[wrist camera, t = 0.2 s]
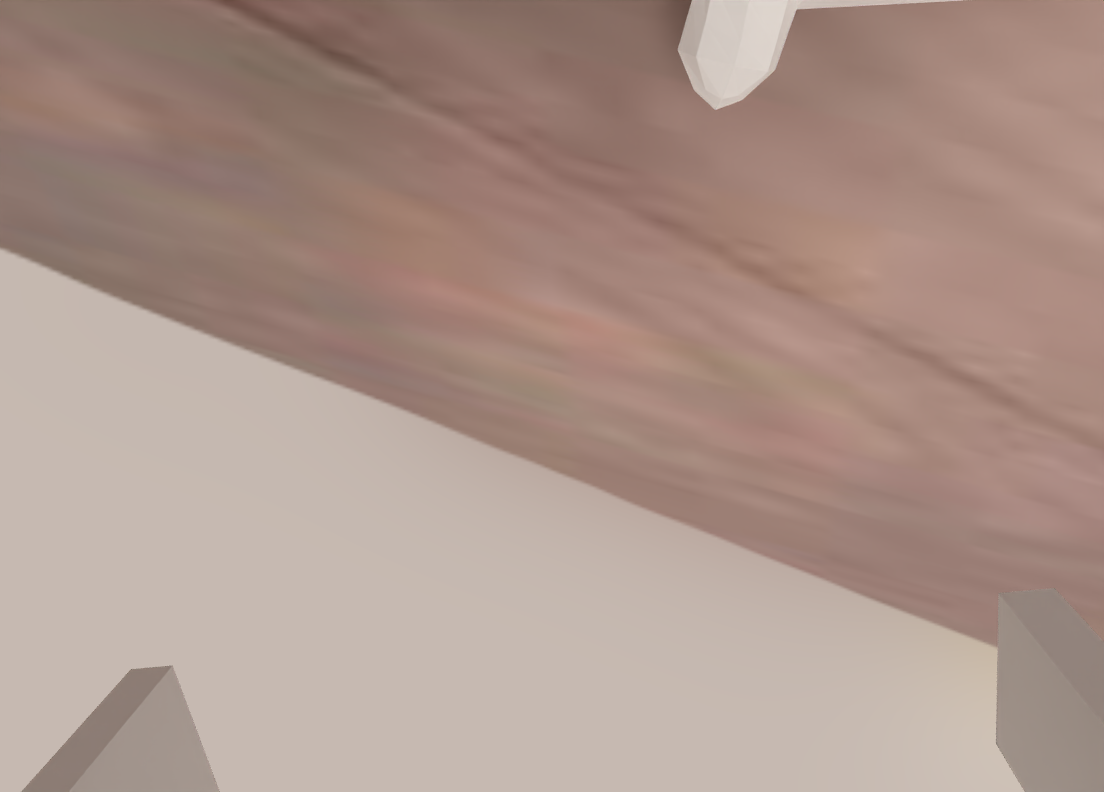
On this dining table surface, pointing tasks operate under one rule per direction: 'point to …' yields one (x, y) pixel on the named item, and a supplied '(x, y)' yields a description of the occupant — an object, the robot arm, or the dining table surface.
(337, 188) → the dining table surface
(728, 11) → the pretzel
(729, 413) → the dining table surface
